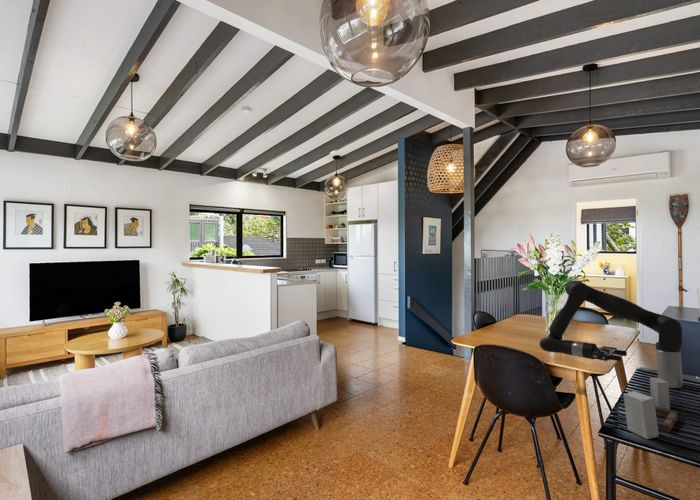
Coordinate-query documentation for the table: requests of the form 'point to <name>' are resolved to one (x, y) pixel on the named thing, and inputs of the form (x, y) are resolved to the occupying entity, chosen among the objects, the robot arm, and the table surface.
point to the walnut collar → (670, 419)
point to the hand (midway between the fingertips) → (623, 356)
